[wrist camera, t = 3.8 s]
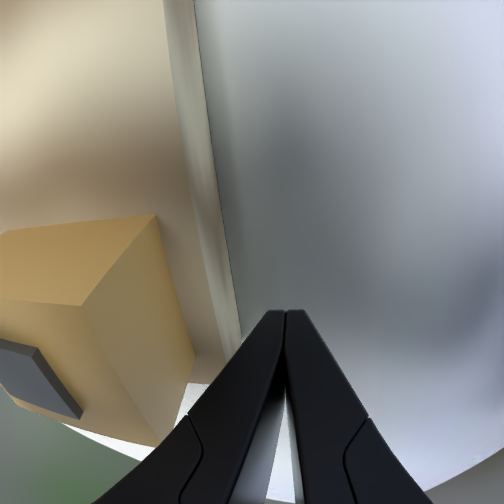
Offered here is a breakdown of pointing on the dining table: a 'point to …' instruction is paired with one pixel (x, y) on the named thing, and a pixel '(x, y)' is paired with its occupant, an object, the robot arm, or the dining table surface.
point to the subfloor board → (118, 142)
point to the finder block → (94, 327)
